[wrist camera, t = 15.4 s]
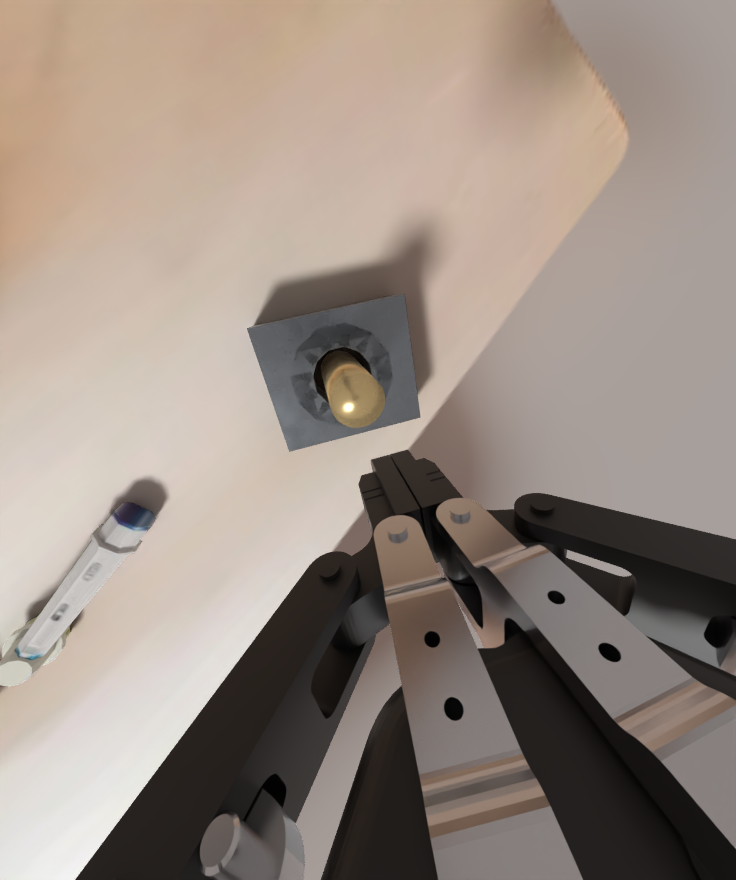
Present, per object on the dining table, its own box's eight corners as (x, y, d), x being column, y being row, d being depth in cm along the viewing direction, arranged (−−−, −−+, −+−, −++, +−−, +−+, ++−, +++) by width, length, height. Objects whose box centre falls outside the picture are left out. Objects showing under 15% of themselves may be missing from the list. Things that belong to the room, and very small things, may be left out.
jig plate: (253, 325, 30) (246, 328, 26) (392, 295, 31) (404, 293, 27) (290, 436, 35) (289, 451, 31) (408, 406, 36) (420, 417, 33)
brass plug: (316, 355, 32) (323, 381, 21) (353, 346, 32) (379, 367, 22) (326, 392, 34) (337, 433, 23) (361, 383, 34) (389, 420, 23)
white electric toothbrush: (153, 536, 32) (17, 710, 34) (172, 506, 39) (56, 654, 40) (100, 513, 30) (-43, 699, 32) (129, 484, 36) (8, 641, 38)
